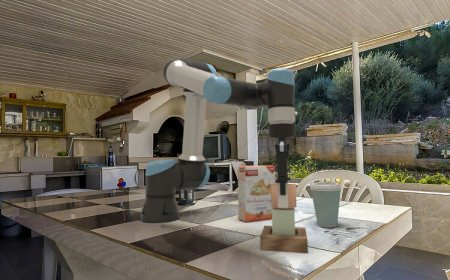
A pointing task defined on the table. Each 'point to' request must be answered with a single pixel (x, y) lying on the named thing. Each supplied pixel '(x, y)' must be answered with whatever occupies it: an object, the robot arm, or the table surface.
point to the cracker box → (255, 192)
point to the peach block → (290, 196)
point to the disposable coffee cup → (326, 202)
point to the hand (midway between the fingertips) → (283, 204)
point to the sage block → (283, 221)
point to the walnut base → (284, 241)
